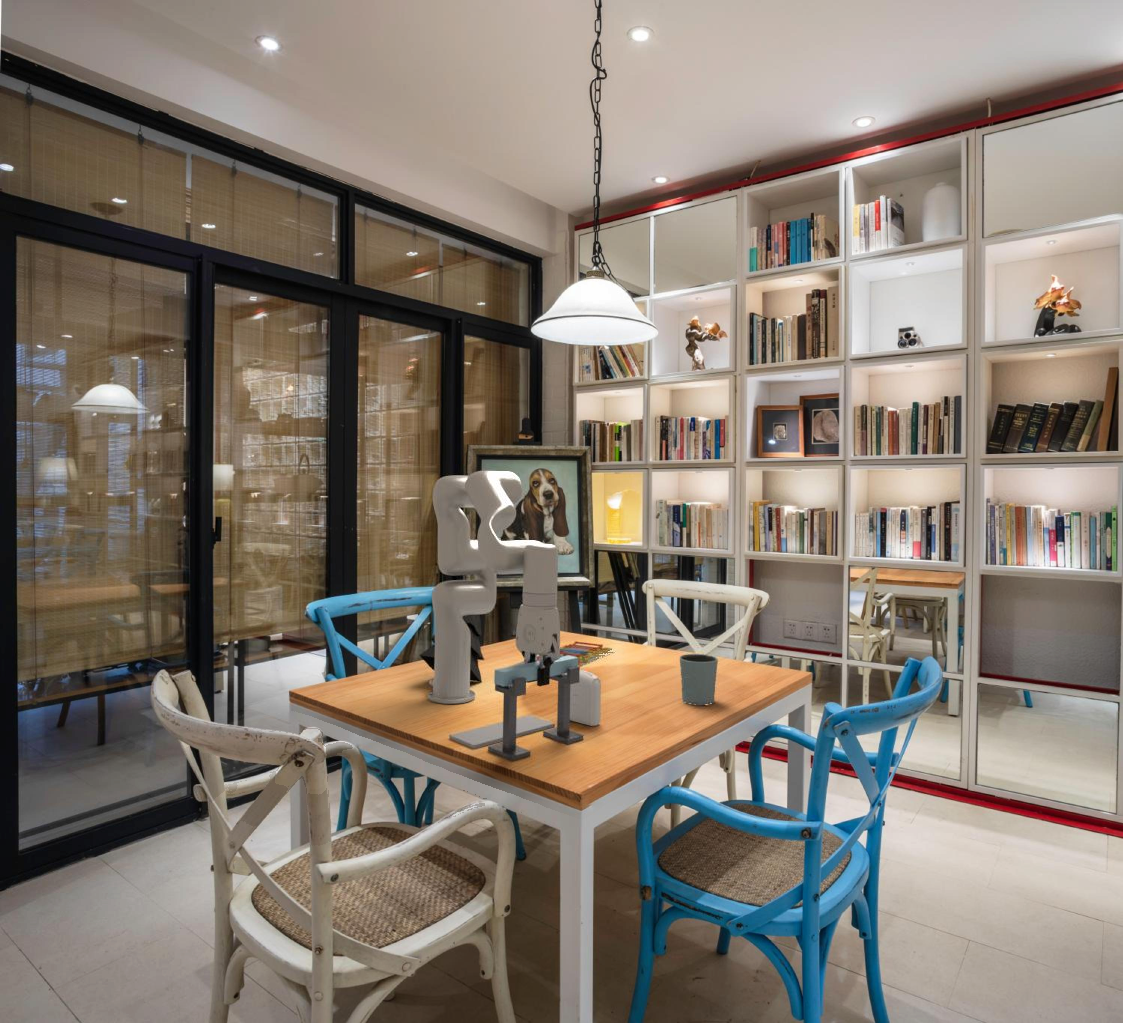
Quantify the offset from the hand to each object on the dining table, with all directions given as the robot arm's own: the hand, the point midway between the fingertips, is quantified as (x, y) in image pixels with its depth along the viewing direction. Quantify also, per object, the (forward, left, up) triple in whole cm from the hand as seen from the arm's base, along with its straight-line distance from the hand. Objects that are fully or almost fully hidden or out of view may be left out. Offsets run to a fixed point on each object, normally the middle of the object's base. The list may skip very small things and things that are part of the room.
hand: (537, 682), depth 163 cm
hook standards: (0, 0, -14) cm, 14 cm away
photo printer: (-6, +20, -14) cm, 25 cm away
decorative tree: (-58, +22, -14) cm, 63 cm away
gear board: (-59, +67, -15) cm, 90 cm away
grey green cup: (+2, +57, -14) cm, 59 cm away
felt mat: (-11, 0, -14) cm, 18 cm away
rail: (0, 0, +1) cm, 1 cm away
